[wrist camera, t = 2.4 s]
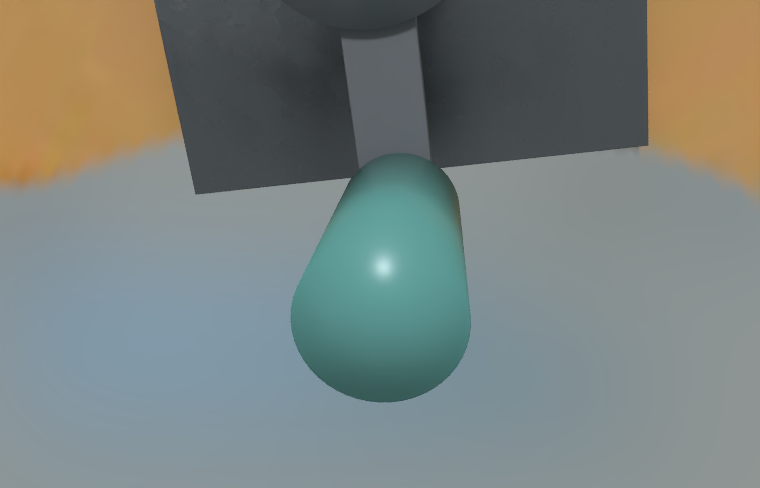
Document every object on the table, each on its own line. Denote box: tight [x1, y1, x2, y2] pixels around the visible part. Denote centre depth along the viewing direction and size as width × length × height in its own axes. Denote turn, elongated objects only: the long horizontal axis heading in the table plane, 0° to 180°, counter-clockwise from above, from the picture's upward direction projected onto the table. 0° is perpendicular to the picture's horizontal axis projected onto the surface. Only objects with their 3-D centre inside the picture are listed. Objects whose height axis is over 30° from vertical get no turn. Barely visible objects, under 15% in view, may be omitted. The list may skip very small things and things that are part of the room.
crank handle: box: [281, 0, 471, 402], centre depth 19 cm, size 8×16×12 cm, turn 7°
